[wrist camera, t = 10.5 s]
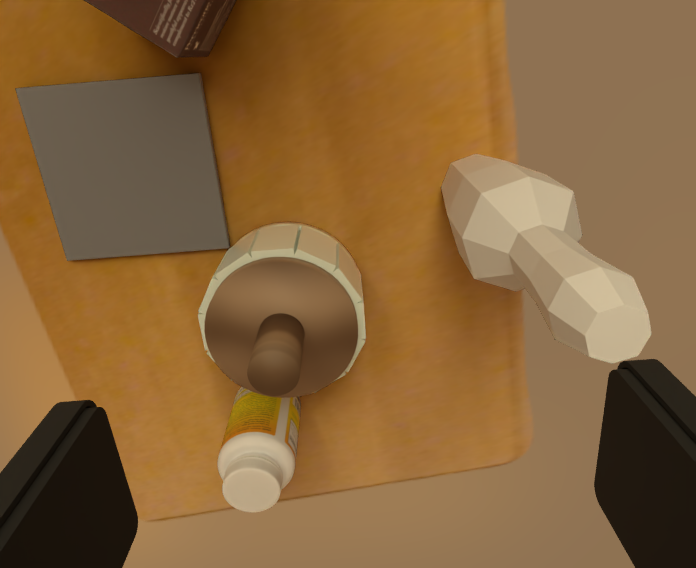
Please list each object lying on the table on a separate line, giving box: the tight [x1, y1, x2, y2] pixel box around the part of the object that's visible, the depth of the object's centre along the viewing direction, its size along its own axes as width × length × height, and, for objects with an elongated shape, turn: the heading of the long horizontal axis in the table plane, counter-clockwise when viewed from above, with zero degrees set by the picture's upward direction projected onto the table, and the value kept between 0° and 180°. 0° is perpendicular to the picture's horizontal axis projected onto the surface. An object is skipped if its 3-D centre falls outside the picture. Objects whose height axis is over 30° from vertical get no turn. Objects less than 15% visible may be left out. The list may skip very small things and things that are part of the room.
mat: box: [15, 73, 230, 261], centre depth 38 cm, size 12×12×1 cm
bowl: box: [198, 222, 366, 393], centre depth 39 cm, size 11×11×6 cm
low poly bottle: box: [441, 154, 651, 363], centre depth 29 cm, size 6×6×22 cm
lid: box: [205, 257, 358, 398], centre depth 34 cm, size 10×10×6 cm
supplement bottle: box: [217, 387, 301, 513], centre depth 41 cm, size 6×6×10 cm
